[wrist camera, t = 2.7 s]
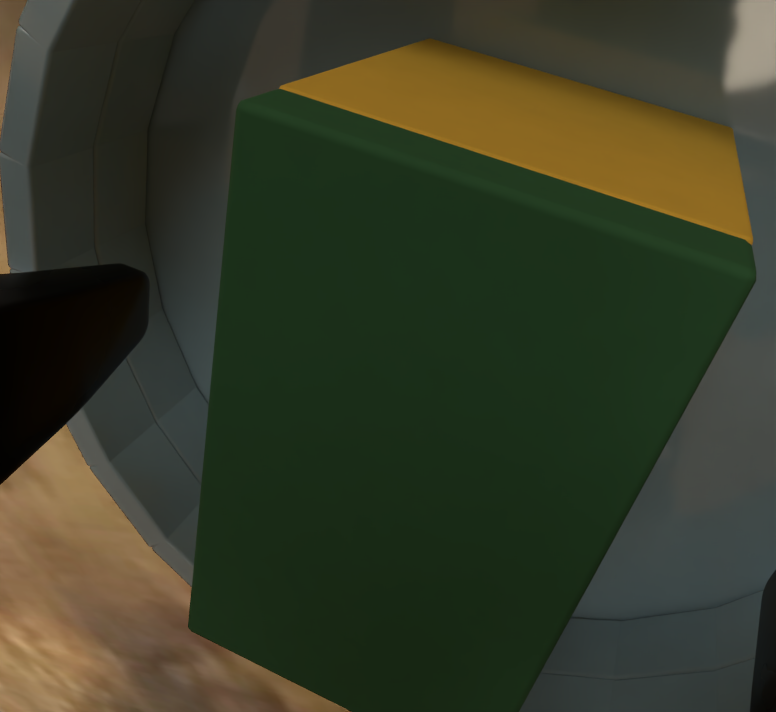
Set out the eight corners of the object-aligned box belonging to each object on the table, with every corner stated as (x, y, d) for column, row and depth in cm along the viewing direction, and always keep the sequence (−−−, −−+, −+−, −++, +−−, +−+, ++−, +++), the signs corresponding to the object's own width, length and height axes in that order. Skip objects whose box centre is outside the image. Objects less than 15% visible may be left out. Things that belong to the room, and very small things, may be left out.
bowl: (738, 722, 15) (747, 897, 13) (134, 448, 18) (30, 540, 16) (1448, -104, 7) (1938, -141, 4) (153, -362, 10) (-61, -483, 7)
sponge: (553, 513, 14) (482, 781, 9) (341, 424, 15) (184, 632, 10) (733, 127, 10) (762, 274, 5) (427, 37, 11) (233, 98, 6)
